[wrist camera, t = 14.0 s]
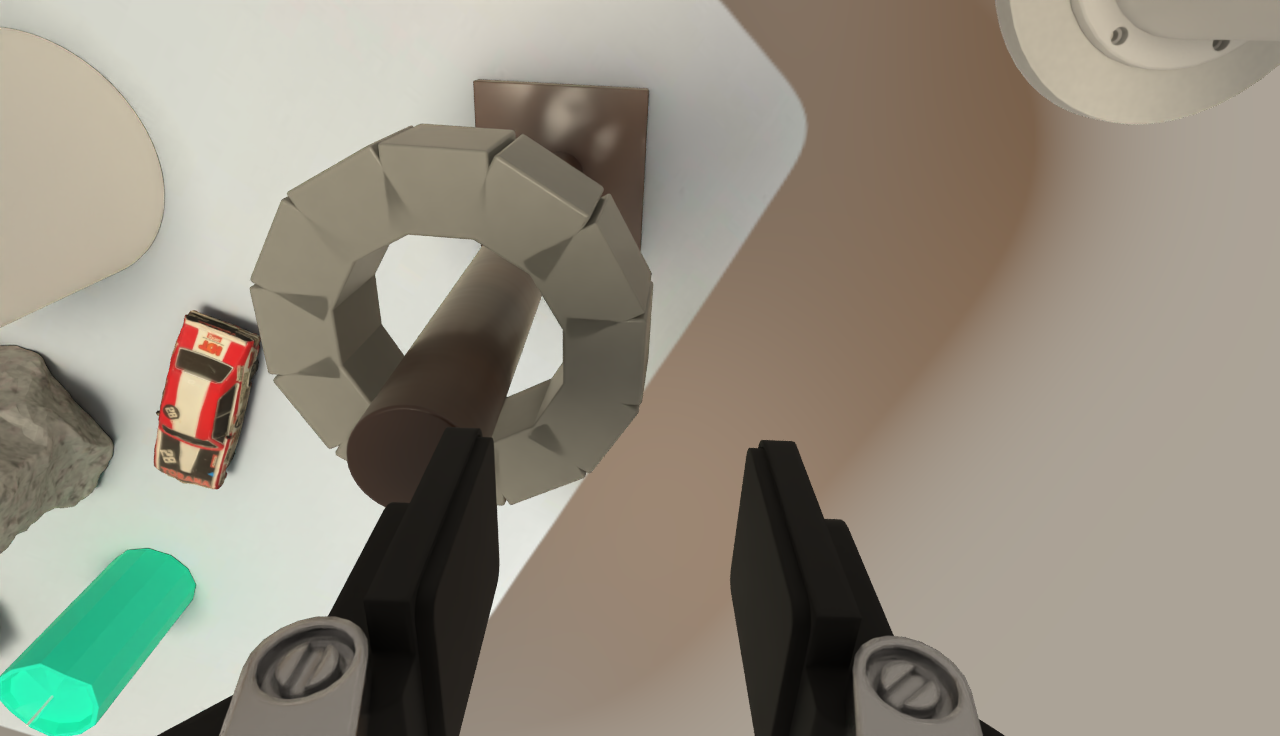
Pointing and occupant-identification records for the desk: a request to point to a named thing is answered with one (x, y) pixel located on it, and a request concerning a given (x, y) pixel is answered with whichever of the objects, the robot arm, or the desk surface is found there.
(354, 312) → the grey faceted ring
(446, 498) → the robot arm
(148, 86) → the desk surface
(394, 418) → the post
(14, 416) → the decorative stone
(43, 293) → the canister
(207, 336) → the race car
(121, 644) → the candle
